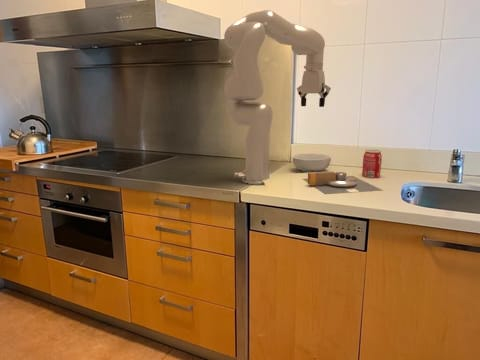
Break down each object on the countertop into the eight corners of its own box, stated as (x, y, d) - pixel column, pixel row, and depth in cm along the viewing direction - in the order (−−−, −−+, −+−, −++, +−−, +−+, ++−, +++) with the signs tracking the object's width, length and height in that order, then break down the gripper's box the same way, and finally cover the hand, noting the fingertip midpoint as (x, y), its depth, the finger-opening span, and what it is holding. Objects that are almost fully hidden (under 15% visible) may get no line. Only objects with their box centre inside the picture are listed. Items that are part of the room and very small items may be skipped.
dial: (347, 178, 141) (348, 167, 140) (363, 185, 130) (363, 174, 129) (303, 180, 138) (303, 170, 137) (315, 188, 127) (315, 177, 126)
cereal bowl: (316, 166, 173) (317, 151, 171) (337, 173, 158) (338, 157, 156) (285, 169, 167) (286, 154, 166) (304, 177, 152) (304, 160, 151)
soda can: (375, 177, 151) (378, 149, 148) (382, 181, 144) (385, 152, 141) (359, 177, 150) (361, 149, 147) (365, 182, 143) (367, 152, 140)
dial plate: (324, 198, 123) (324, 193, 122) (302, 182, 144) (302, 178, 143) (382, 194, 127) (383, 189, 126) (352, 179, 148) (352, 175, 147)
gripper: (293, 68, 164) (292, 106, 168) (326, 66, 153) (324, 107, 157) (302, 69, 169) (301, 105, 173) (335, 67, 158) (333, 106, 162)
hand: (312, 106), depth 165 cm, fingers open, 9 cm apart
